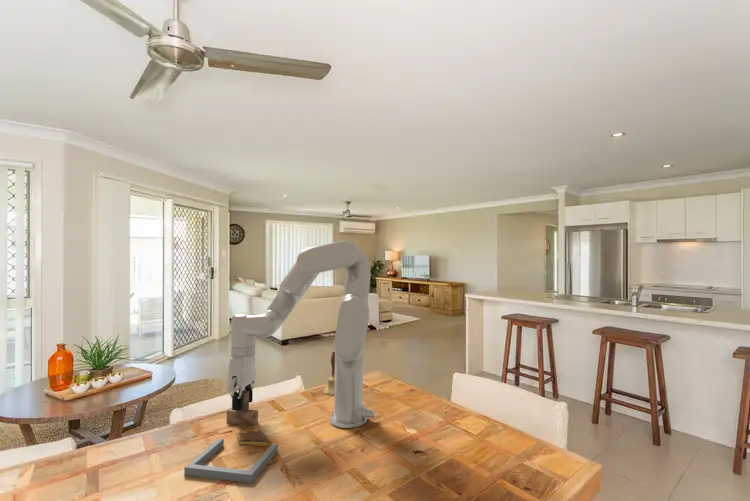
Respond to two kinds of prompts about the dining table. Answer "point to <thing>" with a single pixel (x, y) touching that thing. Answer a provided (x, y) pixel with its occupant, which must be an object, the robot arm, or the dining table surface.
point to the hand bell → (331, 378)
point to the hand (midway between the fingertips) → (242, 405)
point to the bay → (237, 475)
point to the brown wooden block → (243, 412)
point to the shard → (254, 438)
